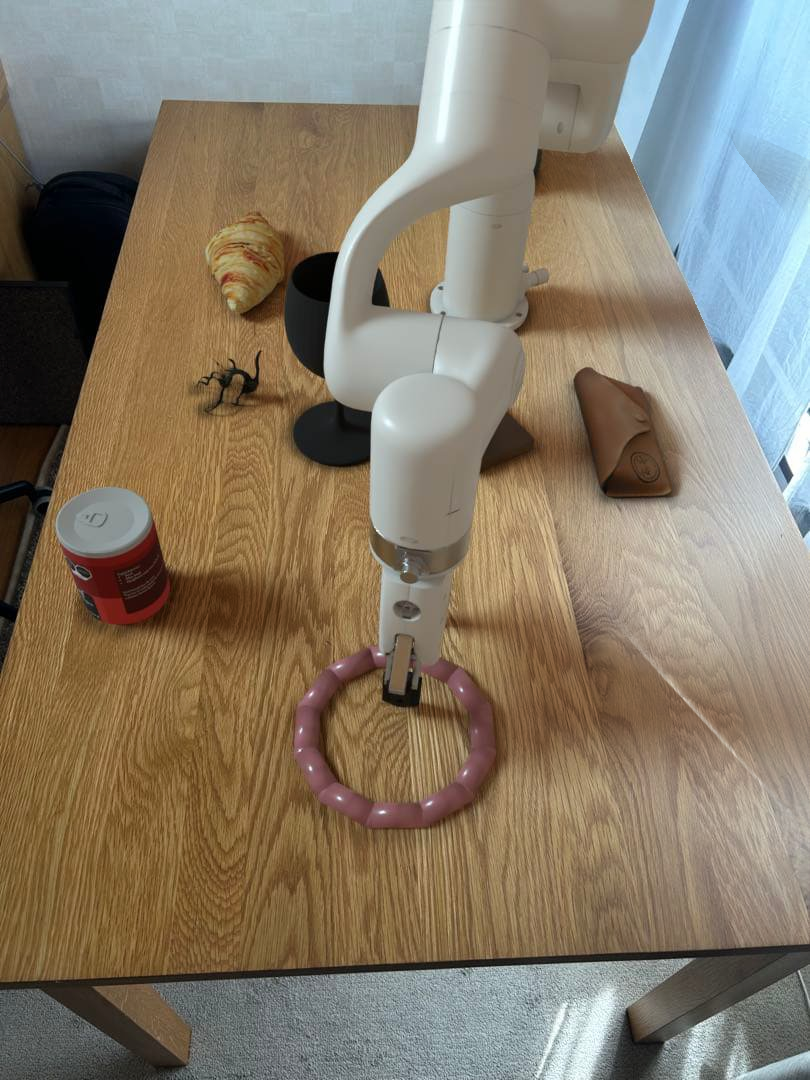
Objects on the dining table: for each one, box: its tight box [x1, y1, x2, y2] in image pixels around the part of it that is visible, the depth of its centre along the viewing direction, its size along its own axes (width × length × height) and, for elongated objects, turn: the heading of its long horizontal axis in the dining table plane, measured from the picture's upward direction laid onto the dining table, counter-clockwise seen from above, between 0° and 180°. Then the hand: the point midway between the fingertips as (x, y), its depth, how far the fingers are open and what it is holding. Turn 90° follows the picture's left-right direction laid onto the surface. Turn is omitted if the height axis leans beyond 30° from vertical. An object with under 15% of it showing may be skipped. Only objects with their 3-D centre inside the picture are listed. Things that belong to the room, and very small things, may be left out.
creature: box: [195, 349, 263, 413], centre depth 101 cm, size 8×5×8 cm
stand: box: [480, 410, 536, 472], centre depth 97 cm, size 9×9×10 cm
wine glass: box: [283, 251, 391, 467], centre depth 92 cm, size 10×10×20 cm
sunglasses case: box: [572, 366, 673, 499], centre depth 100 cm, size 18×7×7 cm, turn 3°
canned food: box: [54, 486, 171, 626], centre depth 80 cm, size 8×8×11 cm
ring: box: [293, 645, 497, 830], centre depth 75 cm, size 17×17×2 cm
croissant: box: [204, 211, 285, 315], centre depth 117 cm, size 21×10×8 cm, turn 1°
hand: (409, 657), depth 79 cm, fingers open, 8 cm apart
